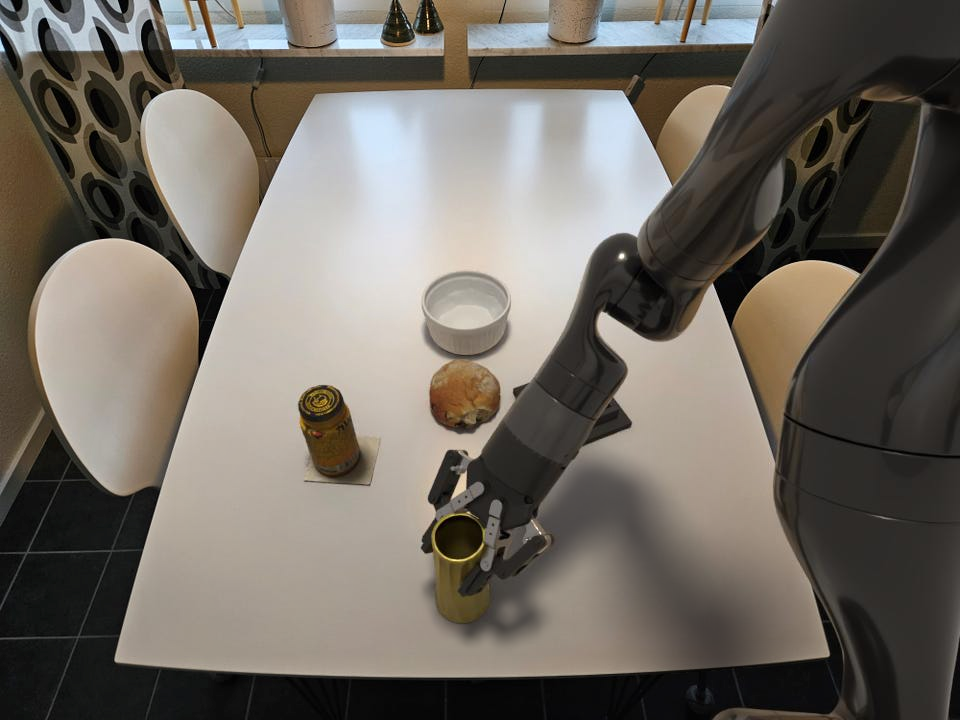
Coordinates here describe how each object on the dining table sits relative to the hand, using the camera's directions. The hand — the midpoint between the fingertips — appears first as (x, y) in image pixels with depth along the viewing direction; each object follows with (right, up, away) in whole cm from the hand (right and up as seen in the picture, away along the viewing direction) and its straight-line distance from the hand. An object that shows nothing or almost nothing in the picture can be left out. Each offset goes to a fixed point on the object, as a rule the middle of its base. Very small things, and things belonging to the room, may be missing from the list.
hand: (446, 571), depth 64 cm
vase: (+1, -5, +8) cm, 10 cm away
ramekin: (+1, +25, +36) cm, 44 cm away
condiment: (-14, +8, +20) cm, 26 cm away
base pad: (+16, +14, +25) cm, 33 cm away
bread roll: (+1, +15, +26) cm, 30 cm away
